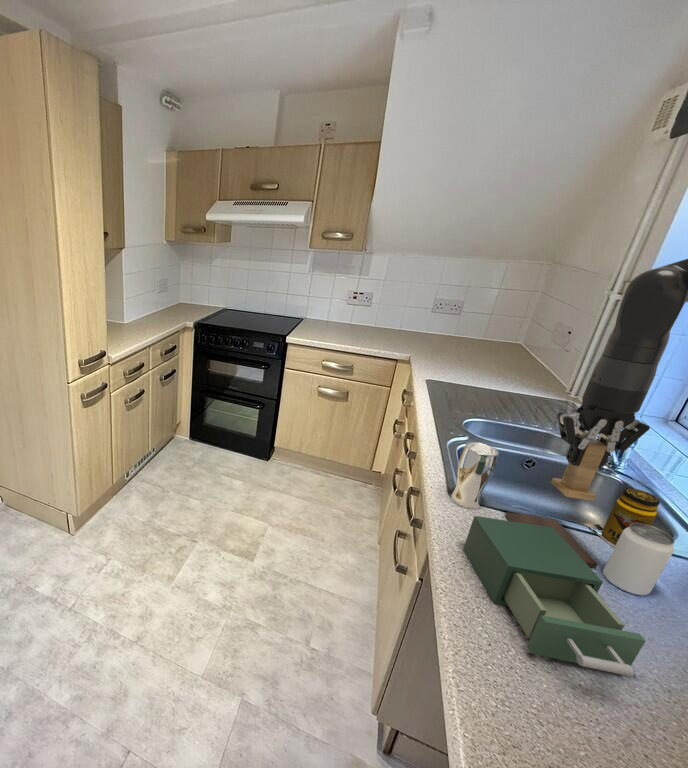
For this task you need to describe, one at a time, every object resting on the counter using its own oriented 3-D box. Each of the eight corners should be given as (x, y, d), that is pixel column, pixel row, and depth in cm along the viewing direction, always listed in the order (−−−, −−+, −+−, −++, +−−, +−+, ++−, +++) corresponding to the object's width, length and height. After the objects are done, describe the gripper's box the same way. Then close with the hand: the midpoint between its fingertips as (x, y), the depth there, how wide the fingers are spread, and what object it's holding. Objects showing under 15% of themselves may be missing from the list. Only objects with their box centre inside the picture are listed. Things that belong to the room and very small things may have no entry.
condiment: (617, 550, 88) (641, 503, 84) (583, 524, 96) (602, 480, 91) (653, 552, 87) (679, 505, 83) (615, 525, 95) (637, 481, 91)
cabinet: (583, 620, 72) (603, 581, 68) (493, 603, 74) (508, 565, 71) (538, 562, 84) (553, 527, 81) (462, 549, 87) (474, 515, 84)
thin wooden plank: (553, 523, 96) (555, 519, 95) (595, 568, 83) (598, 563, 82) (504, 516, 98) (506, 511, 97) (538, 558, 85) (540, 554, 85)
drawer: (648, 701, 58) (670, 668, 56) (545, 679, 61) (562, 646, 58) (572, 604, 73) (586, 574, 71) (492, 589, 76) (503, 560, 74)
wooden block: (550, 482, 85) (570, 434, 81) (576, 486, 84) (597, 437, 80) (566, 497, 80) (588, 446, 77) (594, 500, 80) (617, 449, 76)
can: (597, 565, 84) (621, 516, 79) (641, 578, 81) (668, 529, 76) (608, 587, 78) (634, 536, 74) (655, 602, 75) (685, 550, 71)
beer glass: (445, 500, 103) (461, 448, 98) (452, 489, 107) (468, 438, 102) (478, 514, 98) (496, 459, 93) (484, 501, 103) (502, 449, 98)
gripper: (587, 385, 72) (553, 470, 78) (685, 393, 69) (642, 481, 75) (560, 371, 79) (531, 450, 85) (648, 378, 76) (611, 460, 82)
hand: (583, 464), depth 80 cm, fingers closed on wooden block, 3 cm apart
